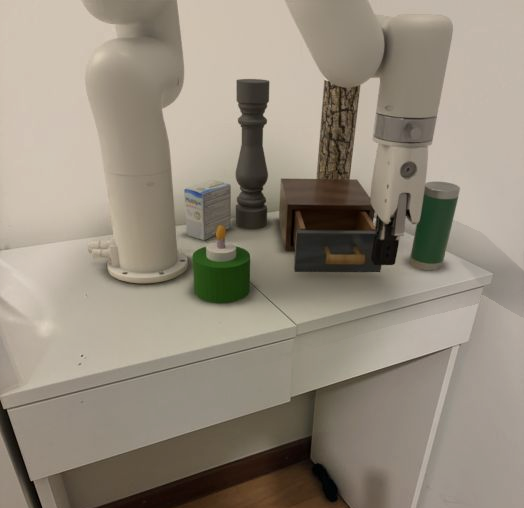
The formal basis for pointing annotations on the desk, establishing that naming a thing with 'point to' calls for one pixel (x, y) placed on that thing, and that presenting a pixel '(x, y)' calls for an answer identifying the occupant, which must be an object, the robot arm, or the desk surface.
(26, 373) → the desk surface
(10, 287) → the desk surface
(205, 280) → the candle
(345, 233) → the drawer
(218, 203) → the medicine box
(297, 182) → the cabinet
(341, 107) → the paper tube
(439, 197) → the can
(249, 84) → the candle holder
